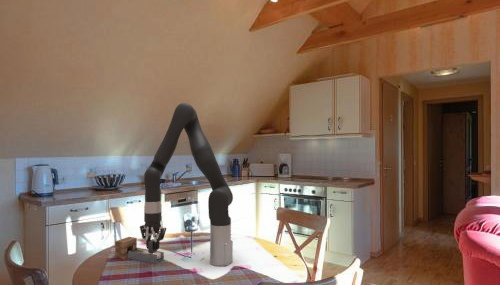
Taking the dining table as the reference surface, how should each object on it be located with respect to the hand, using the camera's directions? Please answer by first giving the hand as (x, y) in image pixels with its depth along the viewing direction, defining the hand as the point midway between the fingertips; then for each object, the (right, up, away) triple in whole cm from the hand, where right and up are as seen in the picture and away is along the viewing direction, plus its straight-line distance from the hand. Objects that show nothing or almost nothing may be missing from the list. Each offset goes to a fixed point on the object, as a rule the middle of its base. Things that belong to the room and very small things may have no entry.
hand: (152, 248), depth 147 cm
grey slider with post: (-2, -4, +1) cm, 5 cm away
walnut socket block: (-15, -5, +7) cm, 17 cm away
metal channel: (-4, -5, +2) cm, 7 cm away
